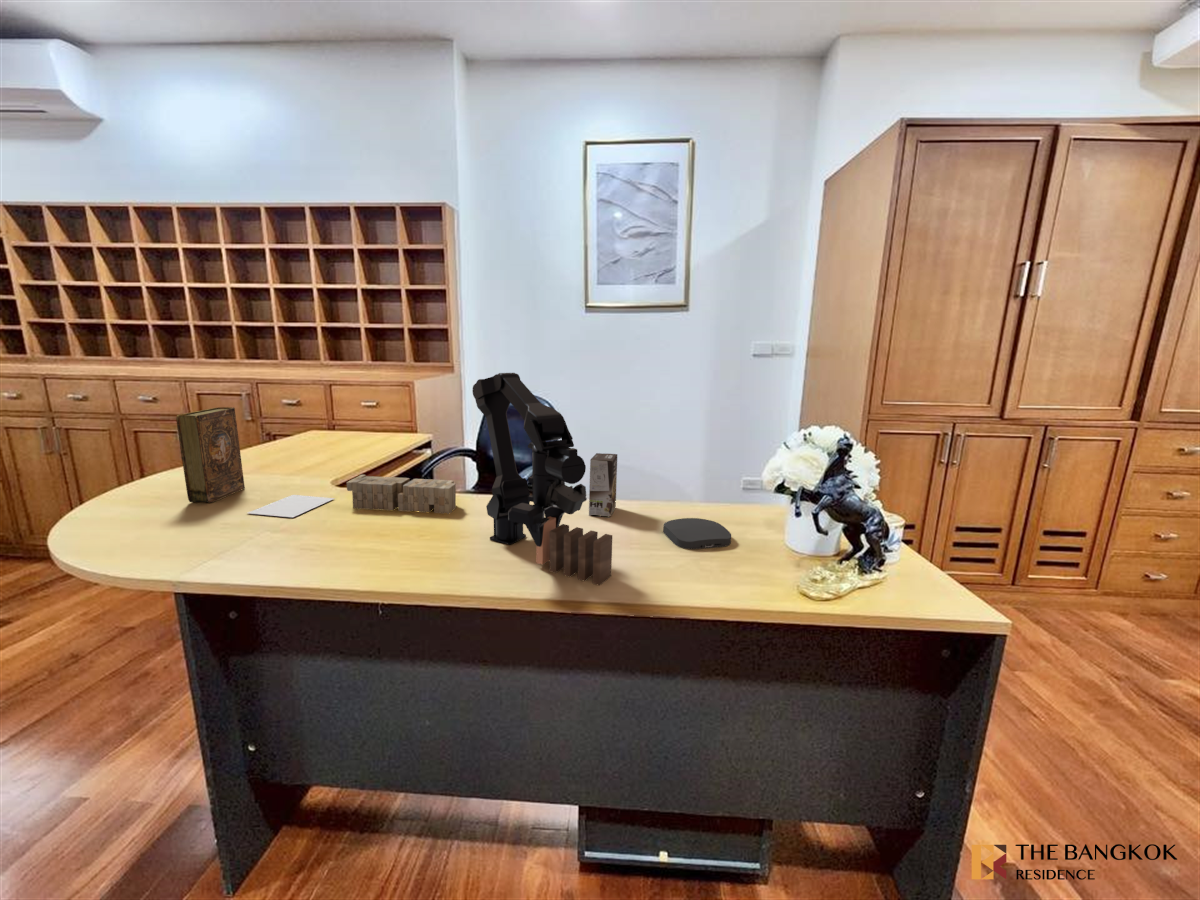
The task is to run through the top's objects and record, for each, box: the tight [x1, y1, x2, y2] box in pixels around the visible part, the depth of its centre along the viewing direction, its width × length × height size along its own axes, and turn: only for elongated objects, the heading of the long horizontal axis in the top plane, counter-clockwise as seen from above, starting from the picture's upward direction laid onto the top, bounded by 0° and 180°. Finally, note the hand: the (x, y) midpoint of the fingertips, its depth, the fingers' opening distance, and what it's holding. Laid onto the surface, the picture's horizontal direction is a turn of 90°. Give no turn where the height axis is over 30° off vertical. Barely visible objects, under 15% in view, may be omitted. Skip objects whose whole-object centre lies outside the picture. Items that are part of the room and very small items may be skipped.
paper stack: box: [247, 494, 336, 518], centre depth 141 cm, size 23×25×1 cm
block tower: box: [346, 474, 457, 515], centre depth 148 cm, size 8×8×29 cm
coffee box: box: [588, 452, 618, 517], centre depth 147 cm, size 9×6×16 cm
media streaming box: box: [662, 517, 732, 550], centre depth 131 cm, size 15×15×3 cm
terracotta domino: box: [535, 517, 556, 565], centre depth 113 cm, size 2×5×9 cm, turn 150°
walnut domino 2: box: [563, 526, 584, 578], centre depth 110 cm, size 2×5×9 cm, turn 151°
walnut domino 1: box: [549, 523, 570, 574], centre depth 111 cm, size 2×5×9 cm, turn 151°
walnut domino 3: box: [577, 530, 599, 582], centre depth 108 cm, size 2×5×9 cm, turn 151°
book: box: [175, 406, 246, 504], centre depth 151 cm, size 16×6×25 cm, turn 179°
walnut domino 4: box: [592, 533, 613, 586], centre depth 106 cm, size 2×5×9 cm, turn 151°
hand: (545, 542), depth 113 cm, fingers closed on terracotta domino, 5 cm apart
